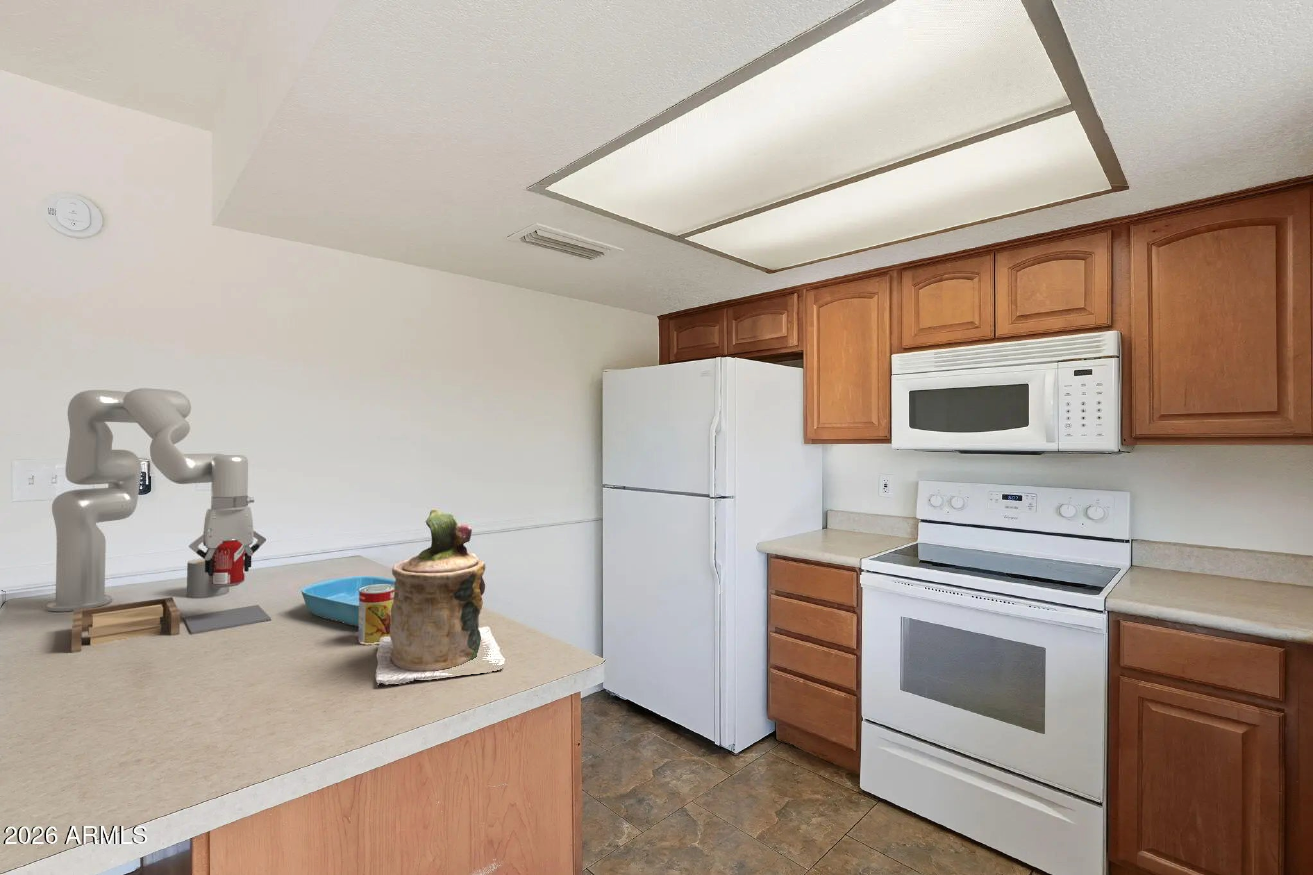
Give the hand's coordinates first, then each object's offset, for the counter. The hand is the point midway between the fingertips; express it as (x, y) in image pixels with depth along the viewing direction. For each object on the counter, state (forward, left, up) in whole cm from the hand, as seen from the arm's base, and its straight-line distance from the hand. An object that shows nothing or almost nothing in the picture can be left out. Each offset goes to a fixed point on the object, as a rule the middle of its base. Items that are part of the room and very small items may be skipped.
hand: (228, 572), depth 148 cm
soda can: (0, 0, -3) cm, 3 cm away
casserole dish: (+18, +28, -13) cm, 36 cm away
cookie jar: (+61, +29, -12) cm, 69 cm away
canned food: (+40, +23, -12) cm, 48 cm away
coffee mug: (-31, 0, -12) cm, 33 cm away
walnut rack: (-3, -19, -12) cm, 23 cm away
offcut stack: (0, -19, -12) cm, 23 cm away
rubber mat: (0, 0, -12) cm, 12 cm away
